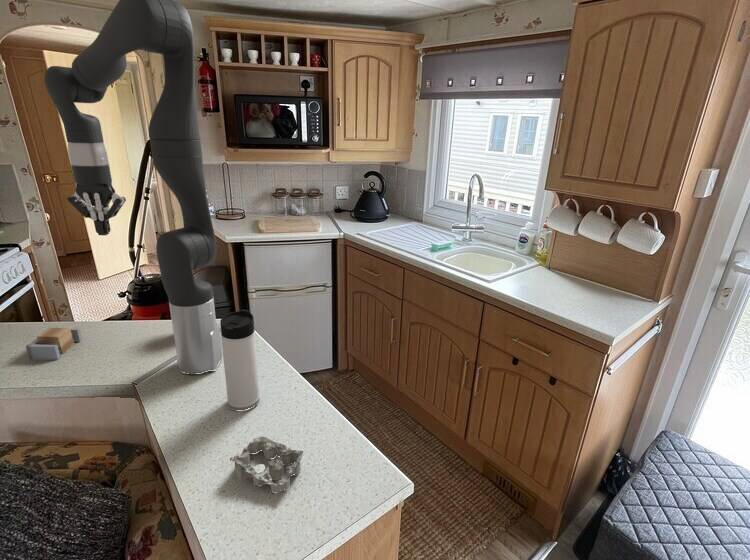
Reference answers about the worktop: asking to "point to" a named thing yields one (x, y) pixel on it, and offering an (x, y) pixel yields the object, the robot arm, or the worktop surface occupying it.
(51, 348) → the bay
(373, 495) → the worktop surface
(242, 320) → the travel mug
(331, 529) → the worktop surface
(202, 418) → the worktop surface
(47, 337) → the small wooden block
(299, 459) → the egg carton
